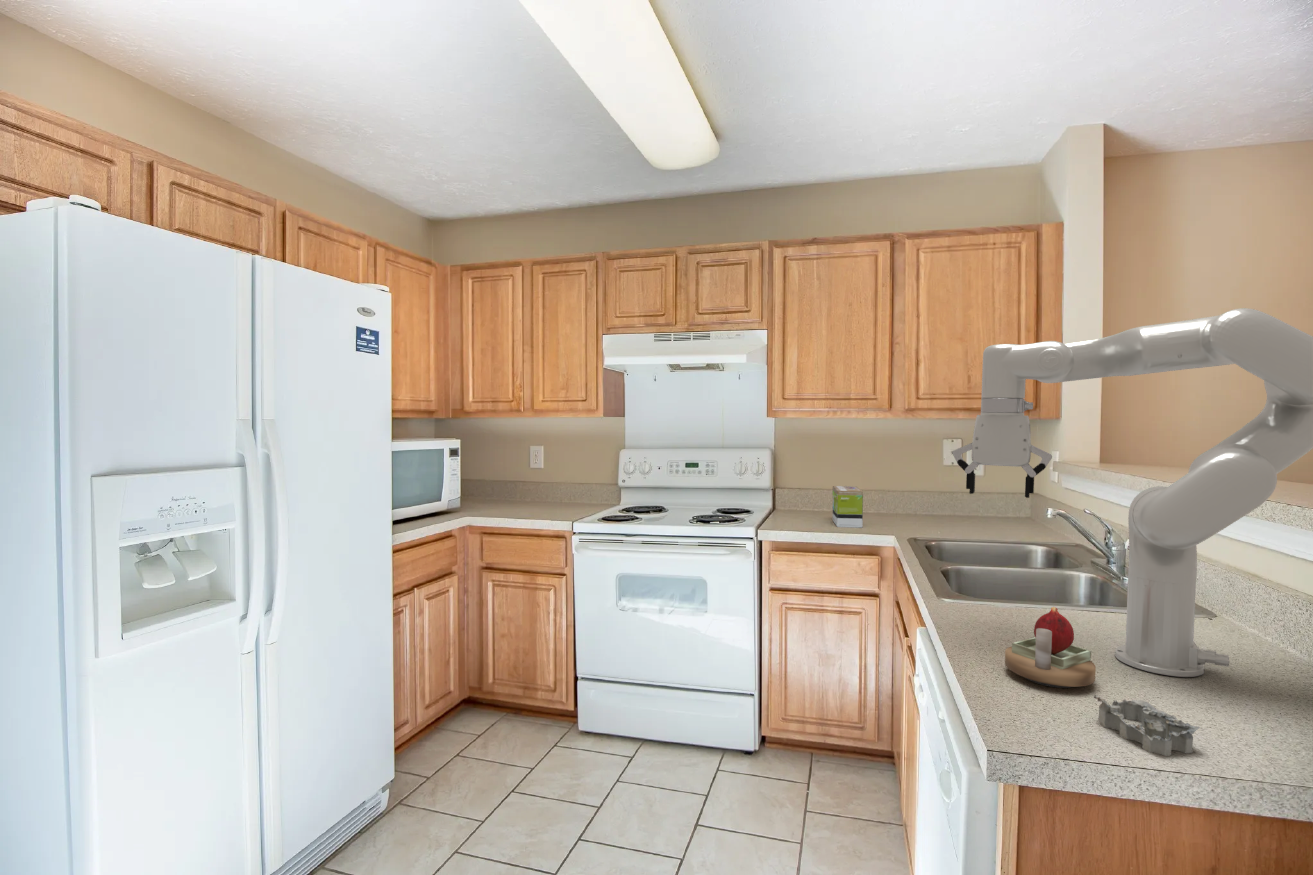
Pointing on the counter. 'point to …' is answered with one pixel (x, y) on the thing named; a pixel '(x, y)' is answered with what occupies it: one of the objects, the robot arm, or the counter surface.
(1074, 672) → the disc
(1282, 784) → the counter surface
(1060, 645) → the onion
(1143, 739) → the egg carton
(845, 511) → the tea box
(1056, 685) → the turntable base
